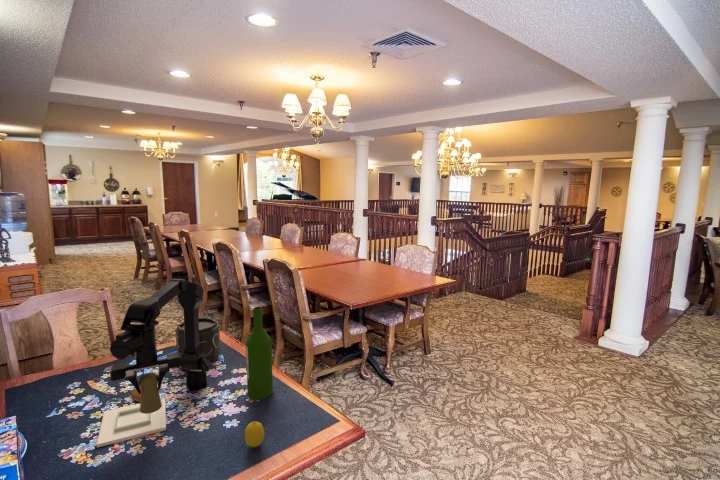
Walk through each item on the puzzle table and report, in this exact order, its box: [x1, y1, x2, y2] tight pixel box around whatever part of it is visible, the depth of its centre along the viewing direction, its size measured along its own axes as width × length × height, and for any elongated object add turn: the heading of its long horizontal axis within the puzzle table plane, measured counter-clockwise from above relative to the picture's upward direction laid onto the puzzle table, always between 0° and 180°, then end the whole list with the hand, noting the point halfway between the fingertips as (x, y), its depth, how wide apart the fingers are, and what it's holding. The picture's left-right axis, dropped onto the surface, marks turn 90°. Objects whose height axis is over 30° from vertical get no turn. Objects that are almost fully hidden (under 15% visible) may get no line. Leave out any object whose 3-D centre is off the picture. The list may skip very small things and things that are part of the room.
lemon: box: [244, 421, 265, 448], centre depth 112 cm, size 6×6×8 cm
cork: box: [138, 372, 162, 414], centre depth 118 cm, size 6×6×11 cm
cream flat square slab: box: [96, 397, 167, 448], centre depth 123 cm, size 18×18×2 cm
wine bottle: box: [245, 306, 274, 401], centre depth 138 cm, size 9×9×32 cm
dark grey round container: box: [174, 317, 222, 363], centre depth 167 cm, size 18×18×16 cm
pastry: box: [131, 386, 141, 403], centre depth 138 cm, size 9×7×4 cm
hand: (149, 391), depth 118 cm, fingers closed on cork, 5 cm apart
